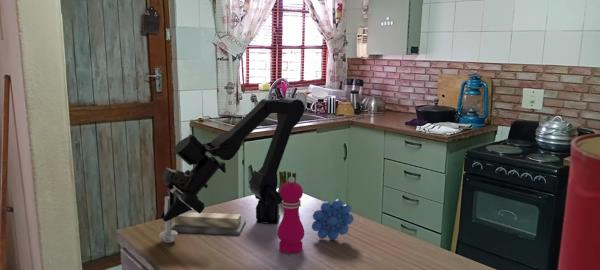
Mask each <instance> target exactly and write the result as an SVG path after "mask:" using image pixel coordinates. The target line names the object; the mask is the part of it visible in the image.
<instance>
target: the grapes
mask: <svg viewBox="0 0 600 270" xmlns="http://www.w3.org/2000/svg"><path fill="white" fill-rule="evenodd" d="M351 211H352V206H351V205H350V204H347V203H346V204H343V202H342V200H341V199H335V200H333V201H332V202H329V201H324V202H323V203H321V205H320V209H317V210H315V211H314V213H313V215H312V219H314V221H313V222H312V224H311V229H312V230H313V231H314V232H317V237H318V238H319V239H326V238H327V237H328V239H329V240H330V241H334V240H336V239H338V238H339V235H341V236H344V235H346V234H348V232H349V226H348V225H351V224H352V223H353V221H354V216H353V215H352V213H351ZM350 213H351V214H350Z"/></svg>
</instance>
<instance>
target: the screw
mask: <svg viewBox="0 0 600 270" xmlns="http://www.w3.org/2000/svg"><path fill="white" fill-rule="evenodd" d="M163 206H164V207H163V210H165V211H164V212H165V213H164V214H165V215H166V213H167V212H168V210H169V209H170V207H171V205H170V200H169V197H168V196H165V197H164V205H163ZM164 208H165V209H164ZM165 215H164V216H165ZM172 220H173V219H171V220H169V221H167V222H165V221H164V230H163V231H161V232H160V233H159V236H158V237H160V239H163V242H164V244H166V243H167V244H171V243H173V242H174V240H175V238H176V237H177V236H178V233H179V232H176V231H174V230H171V229H172V228H171V227H172V226H171V225H172V224H173V223H172Z"/></svg>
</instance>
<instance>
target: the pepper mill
mask: <svg viewBox="0 0 600 270" xmlns="http://www.w3.org/2000/svg"><path fill="white" fill-rule="evenodd" d="M303 190H304V189H303V187H302V185H300V184H299V183H298V182H296V183H295V179H294V177H292V176H291V177H289V179H288V182H287V183H285V184H284V185H283V186H282V187H281V189H280V196H281V197H282V199H283V200H282V204H281V206H282V207H283V215H282V219H281V222H280V224H279V226H278V228H277V233H276V234H277V238H278V239H279V240H280V241H279V242H278V244H279V245H278V250H279V251H280V252H281V253H284V254H297V253H300V252H301V251H302V250H303V239H304V237H305V228H304V224H303V223H302V221H301V218H300V212H299V211H300V207H301V205H302V204H301V203H302V200H300V199H302V197H303V195H304V193H303V192H304V191H303Z"/></svg>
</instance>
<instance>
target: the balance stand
mask: <svg viewBox="0 0 600 270" xmlns="http://www.w3.org/2000/svg"><path fill="white" fill-rule="evenodd" d="M246 221H247V220H246V219H242V216H241V214H240V213H239V214H237V213H220V212H219V213H218V212H217V213H214V212H201V213H200V214H199V213H198V212H197V211H195V212H192V211H188V212H185V213H183V214H181V215H179V216H177V217H175V218H174V222H173V223H171V224H172V225H171V226H172V227H171V228H172V229H171V230H174V231H176V232H177V233H191V234H192V233H195V234H196V233H197V234H213V235H216V234H217V235H233V236H234V235H235V236H236V235H237V236H238V235H239V236H240V235H241V234H242V231H243V230H244V227H245V225H246V224H247V222H246Z"/></svg>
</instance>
